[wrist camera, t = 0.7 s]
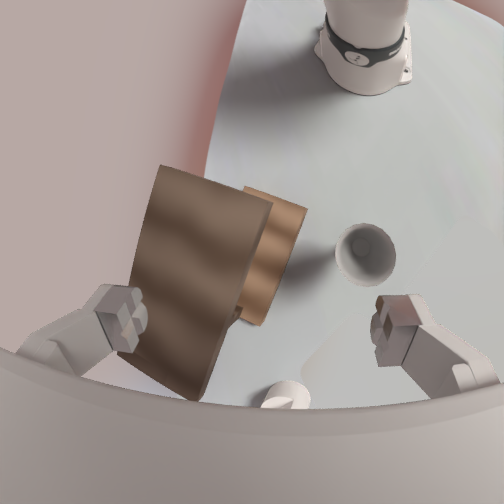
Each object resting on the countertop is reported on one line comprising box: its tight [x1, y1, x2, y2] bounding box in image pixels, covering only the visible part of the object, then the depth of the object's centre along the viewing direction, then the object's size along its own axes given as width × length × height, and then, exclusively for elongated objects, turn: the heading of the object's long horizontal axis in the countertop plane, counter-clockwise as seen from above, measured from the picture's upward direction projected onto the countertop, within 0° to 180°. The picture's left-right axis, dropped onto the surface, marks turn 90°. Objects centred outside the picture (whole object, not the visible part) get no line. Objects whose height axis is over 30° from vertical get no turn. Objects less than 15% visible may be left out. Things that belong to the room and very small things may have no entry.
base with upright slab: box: [260, 381, 311, 409], centre depth 50 cm, size 9×9×12 cm
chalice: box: [335, 223, 396, 287], centre depth 40 cm, size 7×7×18 cm
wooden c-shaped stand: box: [117, 165, 308, 402], centre depth 41 cm, size 22×11×28 cm, turn 159°
